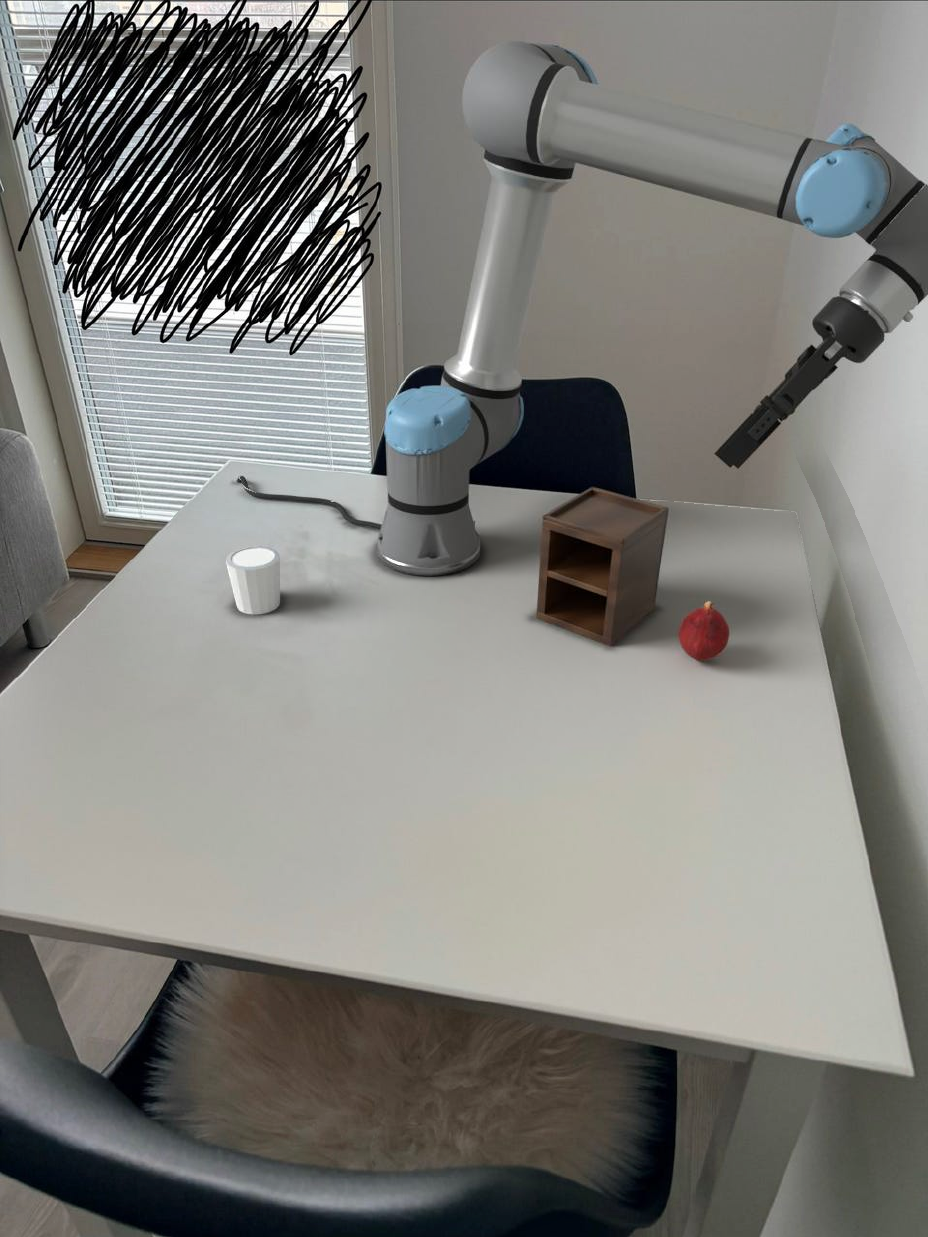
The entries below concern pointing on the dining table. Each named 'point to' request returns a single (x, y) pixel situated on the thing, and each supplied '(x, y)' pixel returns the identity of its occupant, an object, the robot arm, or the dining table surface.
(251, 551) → the shot glass
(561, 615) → the box
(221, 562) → the dining table surface
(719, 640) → the onion
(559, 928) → the dining table surface
